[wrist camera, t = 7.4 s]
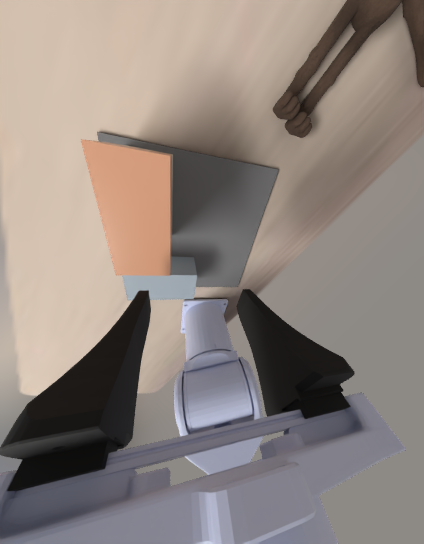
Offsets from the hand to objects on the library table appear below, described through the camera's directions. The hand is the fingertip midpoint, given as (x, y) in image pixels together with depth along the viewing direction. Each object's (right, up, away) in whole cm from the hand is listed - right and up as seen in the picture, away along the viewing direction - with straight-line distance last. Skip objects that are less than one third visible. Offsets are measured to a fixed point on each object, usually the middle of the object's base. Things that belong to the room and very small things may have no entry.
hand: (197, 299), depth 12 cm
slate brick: (-6, +3, +10) cm, 11 cm away
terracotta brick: (-4, +7, +1) cm, 9 cm away
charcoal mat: (-1, +7, +8) cm, 10 cm away
